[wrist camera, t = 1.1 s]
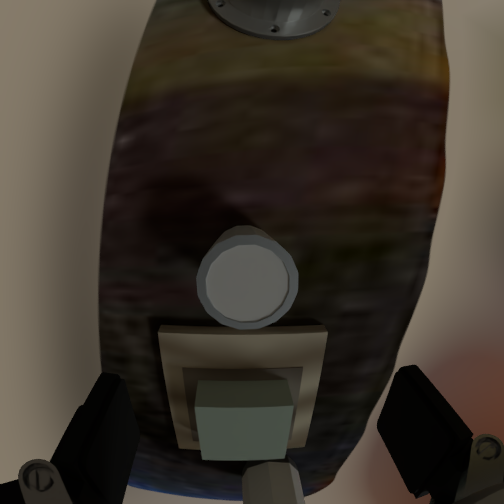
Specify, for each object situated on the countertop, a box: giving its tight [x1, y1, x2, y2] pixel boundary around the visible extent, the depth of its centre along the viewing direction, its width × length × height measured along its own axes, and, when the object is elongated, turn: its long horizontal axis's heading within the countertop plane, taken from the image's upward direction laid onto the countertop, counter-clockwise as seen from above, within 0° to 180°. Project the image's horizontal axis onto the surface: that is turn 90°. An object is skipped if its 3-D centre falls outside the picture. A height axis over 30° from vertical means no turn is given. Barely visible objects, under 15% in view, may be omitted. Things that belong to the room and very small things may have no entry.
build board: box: [158, 325, 328, 450], centre depth 30 cm, size 18×16×2 cm
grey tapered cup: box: [196, 225, 298, 330], centre depth 23 cm, size 7×7×7 cm
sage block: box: [195, 380, 294, 460], centre depth 27 cm, size 9×9×4 cm
